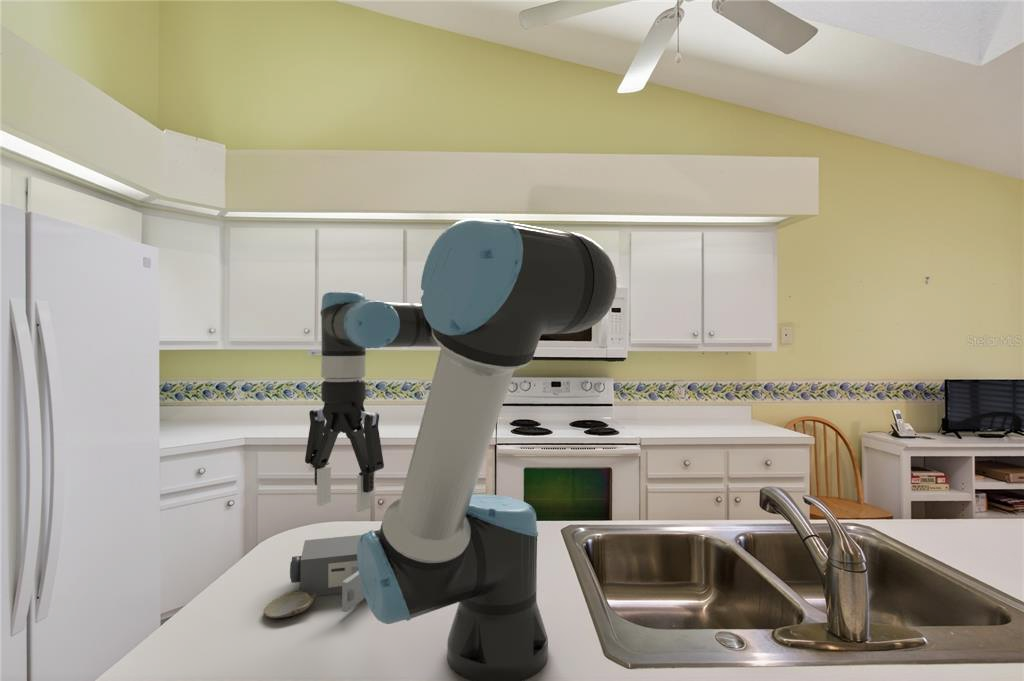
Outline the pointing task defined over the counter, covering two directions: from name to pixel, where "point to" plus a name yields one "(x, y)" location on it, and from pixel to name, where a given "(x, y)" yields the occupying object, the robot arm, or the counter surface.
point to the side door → (352, 592)
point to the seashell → (289, 605)
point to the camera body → (325, 564)
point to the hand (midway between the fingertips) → (343, 506)
